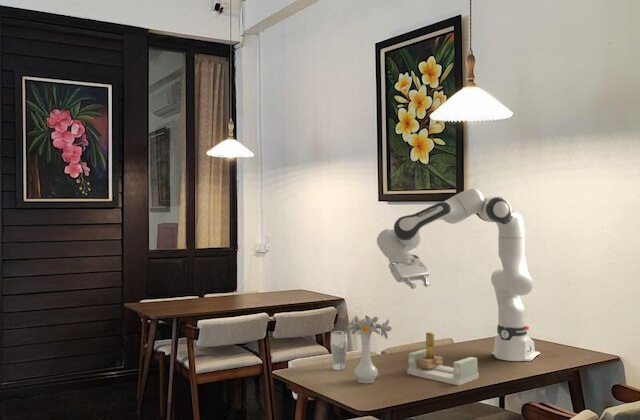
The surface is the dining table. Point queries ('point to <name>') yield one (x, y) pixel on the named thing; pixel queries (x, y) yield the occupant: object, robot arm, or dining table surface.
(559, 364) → the dining table surface
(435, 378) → the track
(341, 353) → the beer glass
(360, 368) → the flower vase
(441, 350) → the dining table surface
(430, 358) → the carriage
